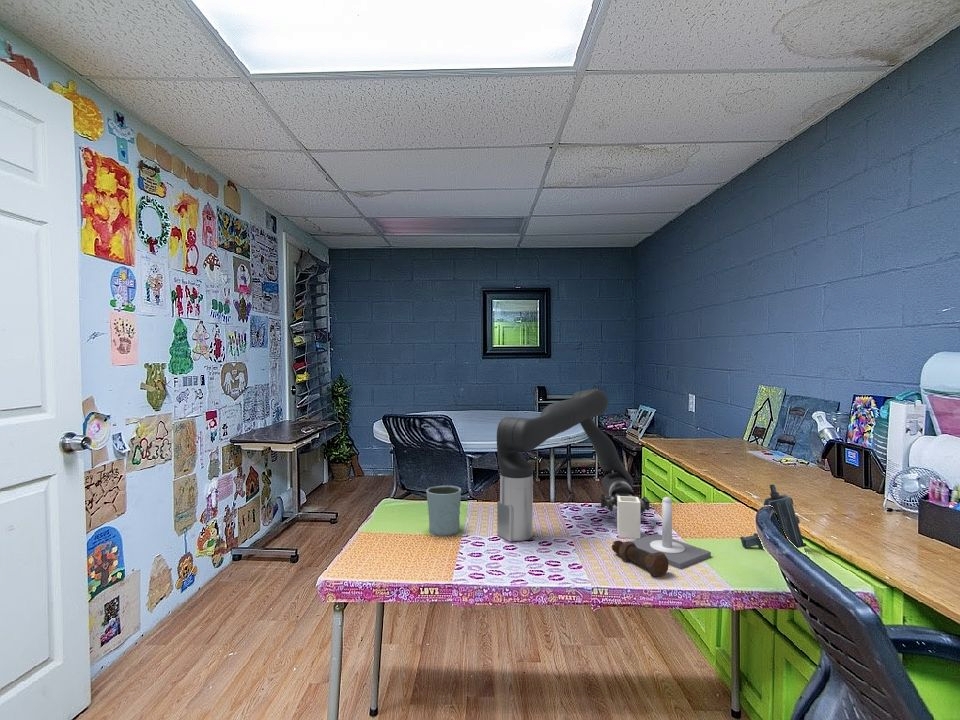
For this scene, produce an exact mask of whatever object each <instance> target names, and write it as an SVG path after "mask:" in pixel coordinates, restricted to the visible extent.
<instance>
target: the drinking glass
mask: <svg viewBox="0 0 960 720" xmlns="http://www.w3.org/2000/svg"><path fill="white" fill-rule="evenodd" d="M425 491H426V500H427V511H428V513H427V515H428V522H429V525H428V526H429V528H428V529H429V532H430V533H431V534H432V535H433V536H438V537H440V536H441V537H448V536H454V535H456V534H458V533H459V531H460V527H461V526H460V522H461V521H460V515H461V509H460V508H461V502H462V501H461V500H462V498H461V497H462V488H461V487H459V486H457V485H436V486H431V487H428V488H427V489H426V490H425Z"/></svg>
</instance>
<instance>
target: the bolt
mask: <svg viewBox="0 0 960 720" xmlns="http://www.w3.org/2000/svg"><path fill="white" fill-rule="evenodd" d="M631 541H632V540H631ZM631 541H630V540H629V541H621V540H615V541H613V542H612V544H611V550H612V551H613V552H614V553H615V554H617V555H619V557H620V558H621V560H623V561H624V562H626V563H627V562H632V561H633V562H634V563H636V564H638V565H641V566H643V567H645V568H647V570H648V572H649V574H650V576H651V577H653V578H661V577H663V576H665V575H666V574H667V572H668V571H669V566H670V565H669V562H668V559H667V557H666V555H665V554H664V553H662V552H657V553H652V554H650V553H647V552H645V551H643V550H640V549H638V548H637V547H636V545H635V544H634V543H633V542H631Z"/></svg>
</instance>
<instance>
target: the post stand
mask: <svg viewBox="0 0 960 720" xmlns="http://www.w3.org/2000/svg"><path fill="white" fill-rule="evenodd" d="M661 508H662V509H661V511H662V512H661V519H662V520H661V531H662V532H661V534H660V533H657V532H656V533H653V534H650V535H647V536H644V537H640V539H634V540H631V542H633V543H634V544H635V545H636V547H637V548H638V549H640V550H643V551H645V552H647V553H650V554H652V553H657V552H662V553H664V554H665V555H666V557H667V559H668V562H669V566H671V567H674V568H676V569H680V570H681V569H683V568H686V567H688V566H690V565H693V564H696V563H698V562H700V561H701V562H702V561H703V560H705V559H709V558H711V557H712V552H711V551H709V550H707V549H703V548H701V547H699V546H695V545H692V544H689V543H687V542H683V541H680V540H677V539H675V538H673V500H672V498H671V497H670V496H663V498H662V502H661Z"/></svg>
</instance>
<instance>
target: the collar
mask: <svg viewBox="0 0 960 720" xmlns="http://www.w3.org/2000/svg"><path fill="white" fill-rule="evenodd" d="M639 499H640V498H639V497H638V496H635V497H628V496H617V508H616V532H617V536H618V538H621V539H622V538H624V539H635V540H637V539H640V538H641V513H640V501H639Z"/></svg>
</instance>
